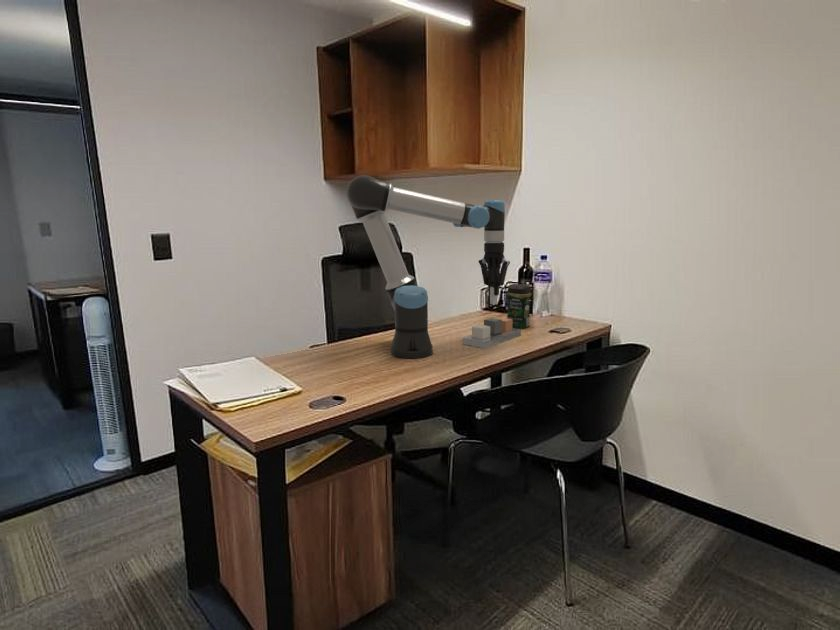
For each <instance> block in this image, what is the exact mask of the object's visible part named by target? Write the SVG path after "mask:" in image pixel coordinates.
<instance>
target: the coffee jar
mask: <svg viewBox="0 0 840 630" xmlns="http://www.w3.org/2000/svg"><path fill="white" fill-rule="evenodd" d="M531 294H532V291H531V286H530V285H527V284H520V283H512V284H509V285H508V287H507V297H508V307H507V308H508V309H507V315H506V318H508V319H513V322H512V328H516V329H527V328H529V327H530V326H531V319H530V317H531V316H530V298H531Z"/></svg>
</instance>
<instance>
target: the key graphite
mask: <svg viewBox="0 0 840 630" xmlns="http://www.w3.org/2000/svg"><path fill="white" fill-rule="evenodd" d="M483 325H486V326H490V334H497V333H500V332H502V319H499V318H494V317H489V318H486V319H483Z"/></svg>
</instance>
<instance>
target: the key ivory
mask: <svg viewBox="0 0 840 630" xmlns="http://www.w3.org/2000/svg"><path fill="white" fill-rule="evenodd" d="M471 335H472V338H475V339H480V340H485V339H488V338H490V326H486V325H484V324H476V325H474V326H471Z"/></svg>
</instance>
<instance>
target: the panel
mask: <svg viewBox="0 0 840 630" xmlns="http://www.w3.org/2000/svg"><path fill="white" fill-rule="evenodd" d="M521 332H522V328H514V327H512V330H511V331H508V332H500V333H497V334H490V338H488V339H485V340H480V339H475V338H472V334H471V335H467V336H464V337H462V345H464V346H469V345H470V346H469V347H475V348H478V349H479V348H480V349H487V348H490V347H492V346H495V345H498V344H501V343H504V342H507V341H509V340H512V339H515V338H517V337H519V336H521V335H522V333H521Z"/></svg>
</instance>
